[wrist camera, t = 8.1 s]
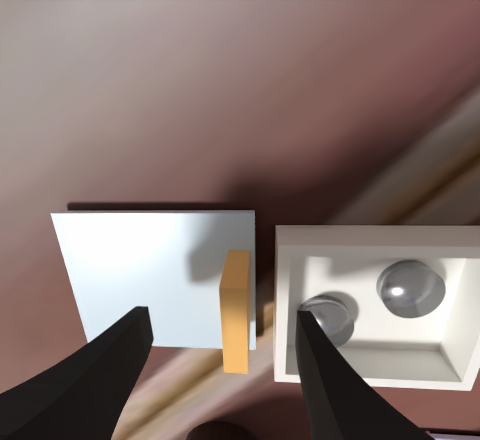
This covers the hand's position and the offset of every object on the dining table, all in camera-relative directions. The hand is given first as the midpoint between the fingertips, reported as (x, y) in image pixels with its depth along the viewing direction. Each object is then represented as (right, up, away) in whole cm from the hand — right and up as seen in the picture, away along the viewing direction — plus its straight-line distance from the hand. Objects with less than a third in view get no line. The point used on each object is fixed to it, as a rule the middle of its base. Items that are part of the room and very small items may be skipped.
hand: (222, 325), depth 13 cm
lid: (-4, +1, +5) cm, 6 cm away
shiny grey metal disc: (+10, +1, +3) cm, 11 cm away
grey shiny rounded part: (+6, -1, +4) cm, 7 cm away
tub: (+8, +1, +4) cm, 9 cm away
